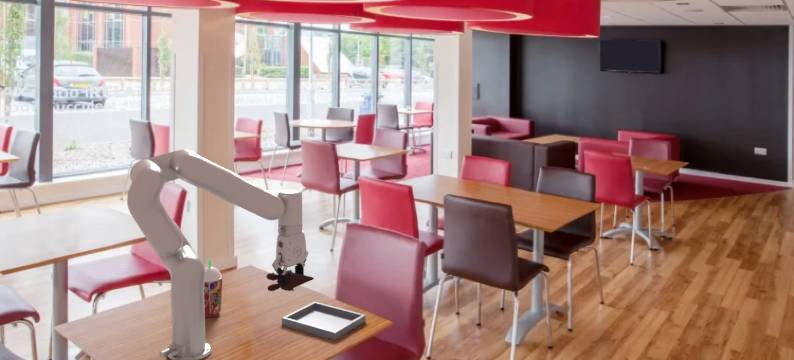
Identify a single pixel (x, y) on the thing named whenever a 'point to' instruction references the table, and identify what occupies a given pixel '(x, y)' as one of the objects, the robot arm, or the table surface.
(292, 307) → the table surface
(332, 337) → the serving tray
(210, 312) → the smoothie
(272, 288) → the icecream
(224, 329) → the table surface
